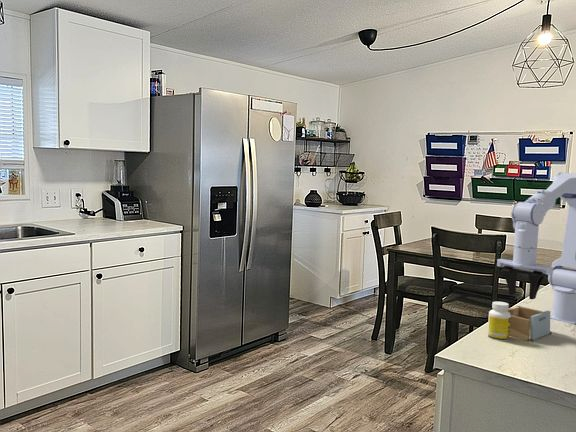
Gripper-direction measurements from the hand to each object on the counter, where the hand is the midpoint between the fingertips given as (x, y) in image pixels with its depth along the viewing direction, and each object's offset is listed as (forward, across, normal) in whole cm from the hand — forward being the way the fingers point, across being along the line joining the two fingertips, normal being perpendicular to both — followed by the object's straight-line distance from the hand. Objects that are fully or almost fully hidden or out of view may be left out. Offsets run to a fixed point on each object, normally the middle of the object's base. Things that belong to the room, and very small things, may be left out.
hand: (522, 296), depth 143 cm
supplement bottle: (+11, -1, -10) cm, 14 cm away
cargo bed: (+10, 0, 0) cm, 10 cm away
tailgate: (+10, +6, 0) cm, 11 cm away
